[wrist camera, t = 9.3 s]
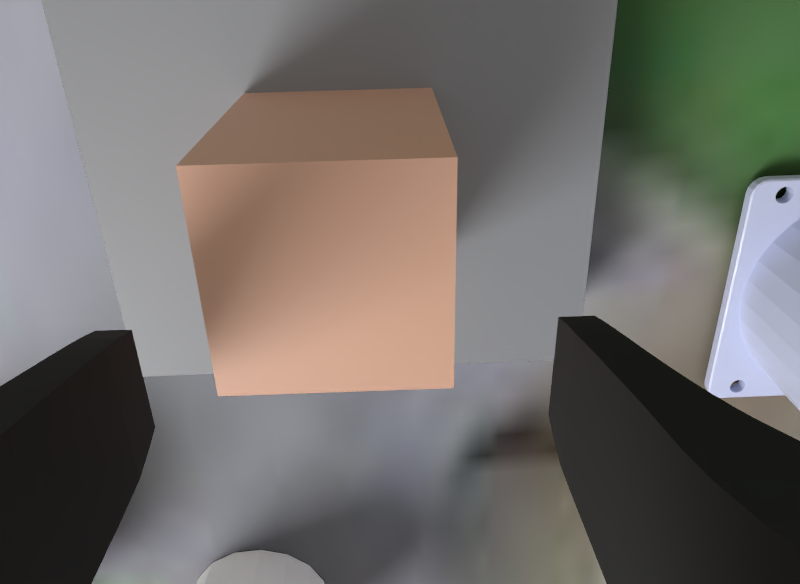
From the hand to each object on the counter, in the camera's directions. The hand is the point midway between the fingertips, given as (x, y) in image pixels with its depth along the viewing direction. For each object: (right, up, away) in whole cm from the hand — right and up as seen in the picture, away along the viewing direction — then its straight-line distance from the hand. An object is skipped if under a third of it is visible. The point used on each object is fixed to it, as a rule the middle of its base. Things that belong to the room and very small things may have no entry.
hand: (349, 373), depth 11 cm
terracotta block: (-1, +4, +6) cm, 7 cm away
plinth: (-1, +5, +8) cm, 10 cm away
